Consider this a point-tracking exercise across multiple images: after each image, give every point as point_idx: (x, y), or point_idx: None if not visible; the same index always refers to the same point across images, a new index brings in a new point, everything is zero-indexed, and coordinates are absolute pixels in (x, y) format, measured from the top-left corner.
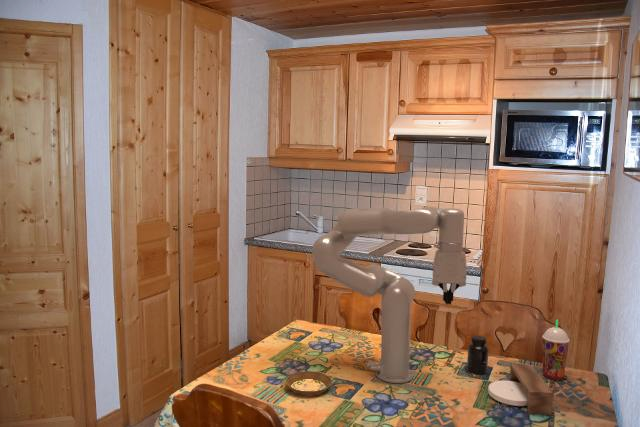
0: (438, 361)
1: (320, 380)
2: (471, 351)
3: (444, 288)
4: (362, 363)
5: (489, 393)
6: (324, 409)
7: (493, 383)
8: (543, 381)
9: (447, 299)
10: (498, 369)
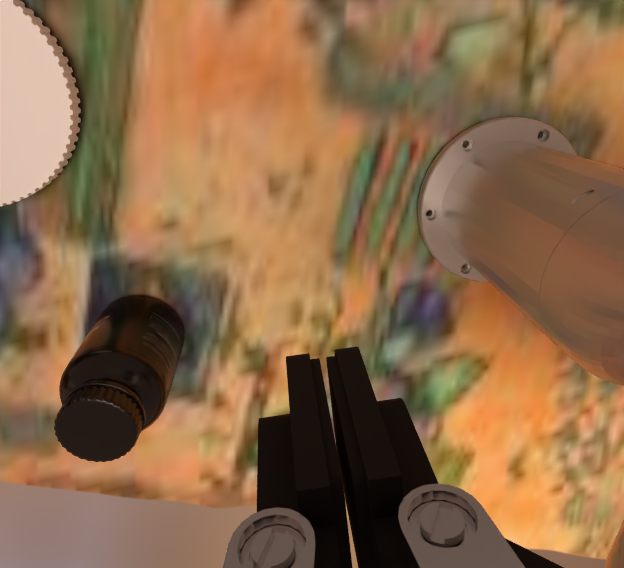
0: None
1: None
2: (149, 356)
3: (483, 553)
4: None
5: (70, 71)
6: None
7: (50, 158)
8: None
9: (353, 387)
10: (52, 367)
